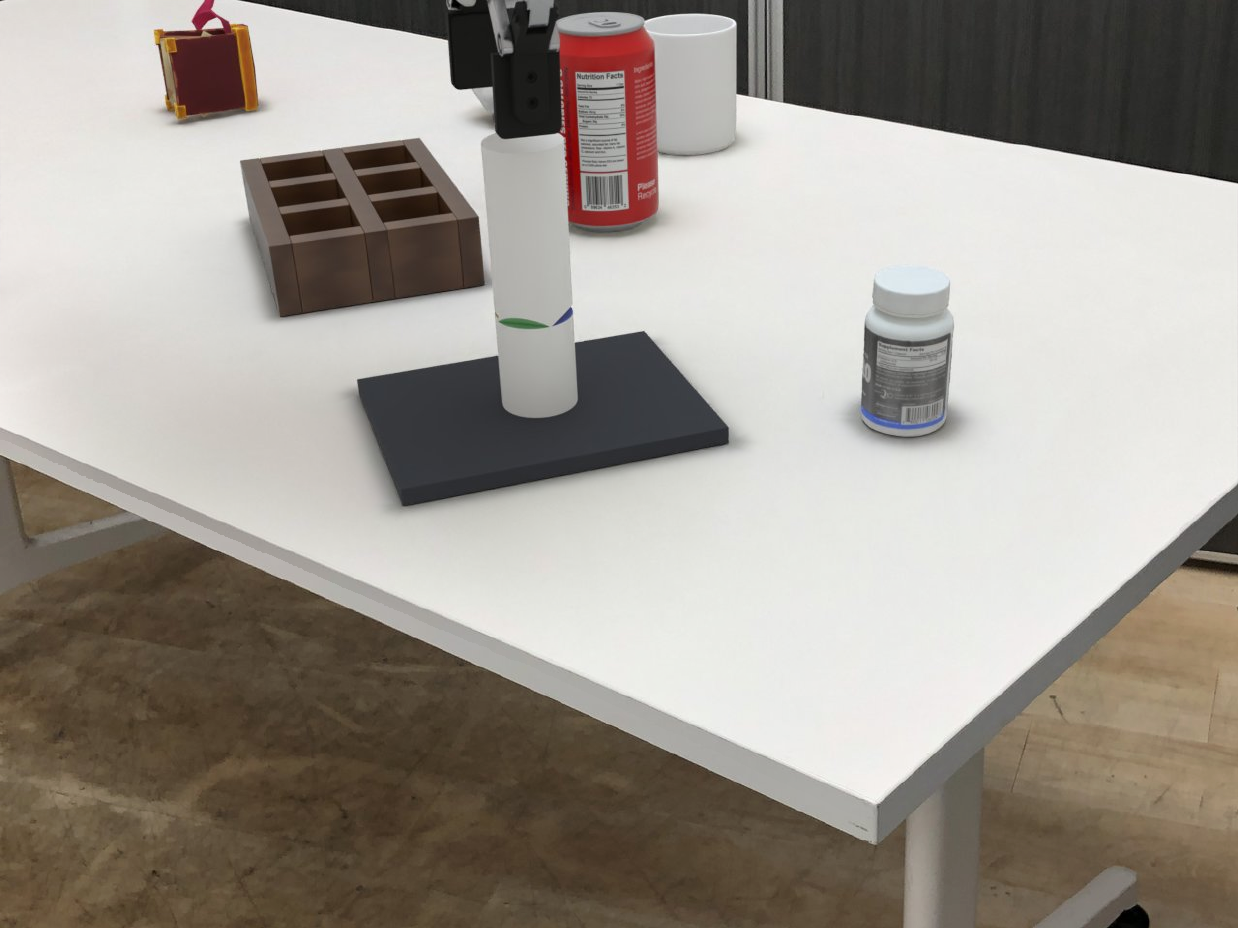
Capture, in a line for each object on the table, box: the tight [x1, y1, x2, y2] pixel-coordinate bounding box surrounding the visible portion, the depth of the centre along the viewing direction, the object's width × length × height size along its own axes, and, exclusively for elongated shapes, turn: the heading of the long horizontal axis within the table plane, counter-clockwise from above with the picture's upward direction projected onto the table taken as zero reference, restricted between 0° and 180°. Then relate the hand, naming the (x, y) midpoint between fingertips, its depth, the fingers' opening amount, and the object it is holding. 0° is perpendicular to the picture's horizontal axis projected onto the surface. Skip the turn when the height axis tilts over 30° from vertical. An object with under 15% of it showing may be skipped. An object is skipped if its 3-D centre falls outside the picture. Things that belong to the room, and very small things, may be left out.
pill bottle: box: [860, 264, 955, 438], centre depth 78 cm, size 5×5×8 cm
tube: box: [480, 132, 578, 418], centre depth 78 cm, size 4×4×15 cm
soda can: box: [556, 11, 660, 233], centre depth 107 cm, size 8×8×15 cm
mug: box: [644, 13, 738, 156], centre depth 124 cm, size 12×8×10 cm
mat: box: [356, 330, 730, 506], centre depth 82 cm, size 18×14×1 cm
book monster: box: [153, 0, 259, 120], centre depth 142 cm, size 11×9×12 cm
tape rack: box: [239, 137, 486, 317], centre depth 105 cm, size 14×20×5 cm
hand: (503, 109), depth 73 cm, fingers open, 9 cm apart
